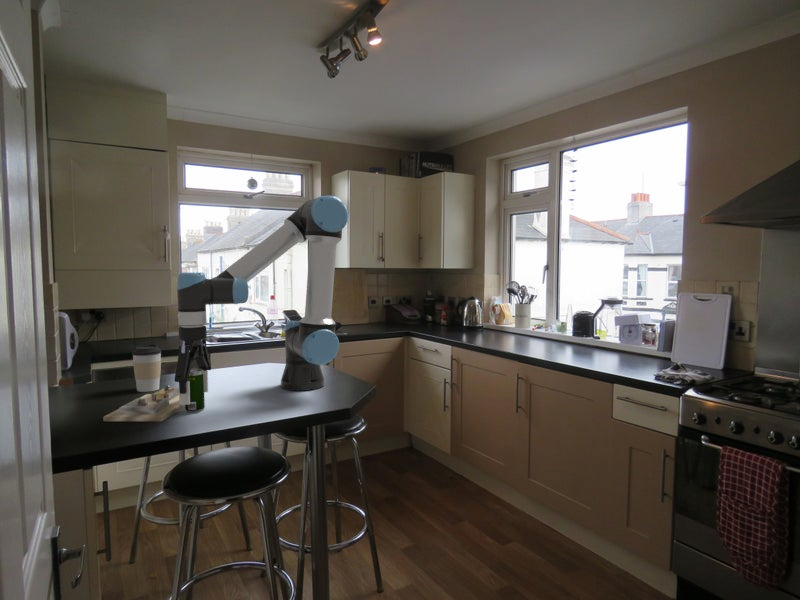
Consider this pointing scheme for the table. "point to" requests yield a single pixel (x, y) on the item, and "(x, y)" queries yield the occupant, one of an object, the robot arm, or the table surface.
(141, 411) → the dock
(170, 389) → the bar
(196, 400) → the beer can
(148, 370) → the coffee cup
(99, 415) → the table surface
